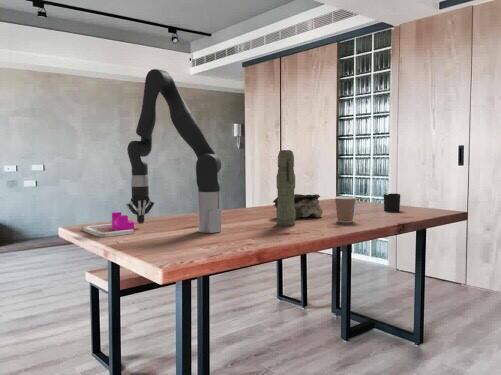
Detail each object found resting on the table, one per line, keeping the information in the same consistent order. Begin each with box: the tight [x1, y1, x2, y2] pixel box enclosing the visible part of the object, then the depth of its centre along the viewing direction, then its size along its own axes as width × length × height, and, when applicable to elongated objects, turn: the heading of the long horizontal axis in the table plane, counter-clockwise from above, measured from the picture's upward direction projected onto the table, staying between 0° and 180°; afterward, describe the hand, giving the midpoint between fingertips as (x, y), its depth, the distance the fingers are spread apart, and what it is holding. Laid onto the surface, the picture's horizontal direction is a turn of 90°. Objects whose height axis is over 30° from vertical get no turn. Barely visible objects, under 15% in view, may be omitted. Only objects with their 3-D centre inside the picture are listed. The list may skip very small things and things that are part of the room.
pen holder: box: [383, 193, 401, 213], centre depth 248 cm, size 9×9×10 cm
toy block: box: [111, 211, 135, 231], centre depth 184 cm, size 15×6×8 cm, turn 29°
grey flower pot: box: [334, 195, 357, 223], centre depth 207 cm, size 10×10×12 cm
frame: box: [81, 223, 135, 239], centre depth 181 cm, size 23×14×2 cm, turn 39°
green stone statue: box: [275, 149, 296, 227], centre depth 197 cm, size 9×12×35 cm
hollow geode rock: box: [272, 193, 324, 219], centre depth 221 cm, size 28×13×15 cm
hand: (140, 223), depth 191 cm, fingers closed
